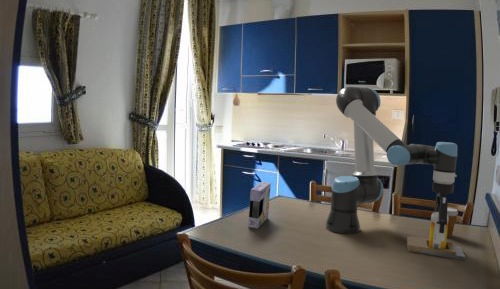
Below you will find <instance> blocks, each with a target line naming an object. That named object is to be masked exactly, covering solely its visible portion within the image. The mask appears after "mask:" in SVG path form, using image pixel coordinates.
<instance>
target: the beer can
mask: <svg viewBox="0 0 500 289" xmlns="http://www.w3.org/2000/svg"><path fill="white" fill-rule="evenodd" d="M448 220H449V217H448V214H447V224H446V230H445V240H444V241H437V240H436V237H437V227H438V224H436V222H437V221H438V222H439V212H435V211H433V212H432V213H431V216H430V225H429V236H428V237H429V238H428V239H429V247H435V248H442V249H446V242H447V241H448V240H447V238H448V237H447V230H448ZM441 221H443V220H441Z"/></svg>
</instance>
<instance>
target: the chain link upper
mask: <svg viewBox="0 0 500 289" xmlns="http://www.w3.org/2000/svg"><path fill="white" fill-rule="evenodd" d="M427 243H428V244H429V238H422V237H415V236H411V235H410V236H406V249H407V252H412V253H418V254H423V253H422V250H424V251H431V252H437V253H443V254H450V255H456V251H455V249H454V246H455V245H453V242H450V241H449V242H448V241H446V246H447V248H448V249H442V248H435V247H429V246H428V245H427Z"/></svg>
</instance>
